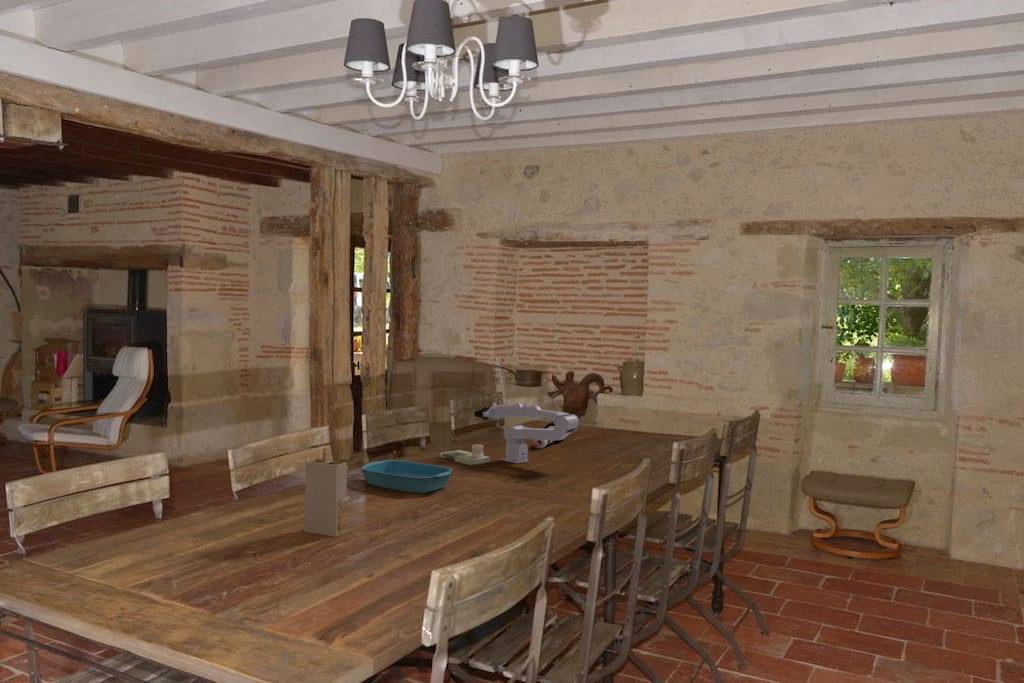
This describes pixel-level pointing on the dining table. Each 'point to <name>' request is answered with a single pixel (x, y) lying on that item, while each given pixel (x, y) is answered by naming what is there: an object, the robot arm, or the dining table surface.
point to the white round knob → (477, 451)
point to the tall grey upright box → (324, 496)
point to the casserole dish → (406, 475)
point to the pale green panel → (464, 457)
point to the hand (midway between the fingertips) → (480, 412)
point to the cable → (544, 443)
